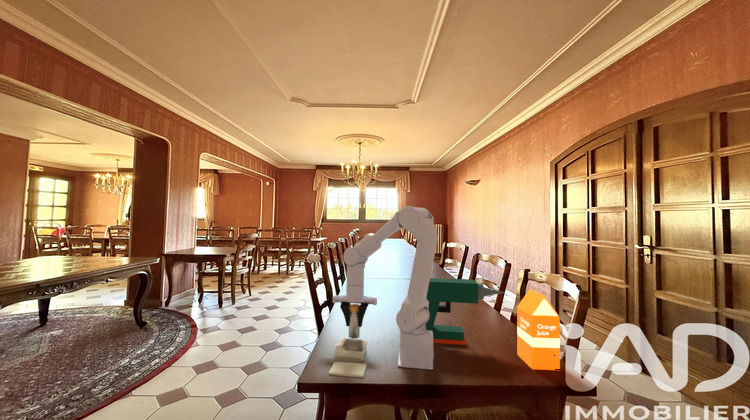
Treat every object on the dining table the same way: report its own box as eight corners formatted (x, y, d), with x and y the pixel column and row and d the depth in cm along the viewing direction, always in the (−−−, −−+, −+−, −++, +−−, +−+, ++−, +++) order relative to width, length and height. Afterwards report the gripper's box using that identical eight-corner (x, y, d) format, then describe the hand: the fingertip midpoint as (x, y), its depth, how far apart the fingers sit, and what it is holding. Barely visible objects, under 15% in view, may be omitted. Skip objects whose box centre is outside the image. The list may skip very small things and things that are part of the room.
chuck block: (366, 350, 88) (366, 340, 88) (362, 362, 80) (362, 351, 80) (341, 348, 89) (341, 338, 89) (334, 360, 81) (334, 349, 81)
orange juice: (542, 355, 87) (542, 289, 88) (560, 370, 78) (560, 296, 79) (516, 354, 87) (516, 288, 88) (531, 369, 78) (531, 295, 79)
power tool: (501, 338, 99) (501, 280, 100) (508, 347, 92) (509, 285, 93) (409, 333, 102) (410, 276, 103) (409, 341, 95) (410, 280, 96)
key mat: (366, 365, 78) (366, 363, 78) (363, 377, 72) (363, 375, 72) (334, 363, 79) (334, 361, 79) (328, 374, 73) (328, 372, 73)
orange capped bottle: (360, 334, 95) (361, 304, 95) (358, 338, 91) (359, 307, 92) (349, 333, 95) (350, 303, 96) (347, 338, 92) (348, 306, 92)
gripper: (378, 282, 97) (377, 322, 97) (336, 280, 99) (335, 320, 98) (375, 286, 90) (375, 330, 90) (331, 284, 92) (330, 327, 91)
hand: (354, 325), depth 94 cm, fingers closed on orange capped bottle, 4 cm apart
